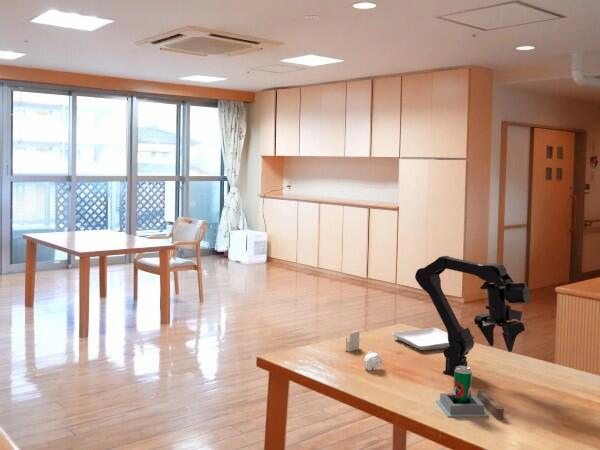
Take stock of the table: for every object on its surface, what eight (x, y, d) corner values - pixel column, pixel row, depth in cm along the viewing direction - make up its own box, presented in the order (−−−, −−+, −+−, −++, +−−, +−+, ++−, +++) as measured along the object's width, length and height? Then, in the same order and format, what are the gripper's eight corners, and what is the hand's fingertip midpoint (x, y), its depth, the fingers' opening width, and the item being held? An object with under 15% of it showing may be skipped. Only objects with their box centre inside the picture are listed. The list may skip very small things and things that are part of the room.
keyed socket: (435, 401, 201) (436, 392, 200) (474, 401, 202) (474, 391, 201) (447, 417, 189) (448, 407, 188) (488, 416, 190) (489, 406, 189)
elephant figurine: (387, 371, 229) (387, 354, 228) (366, 373, 226) (366, 356, 225) (378, 365, 235) (378, 349, 234) (357, 367, 232) (358, 350, 232)
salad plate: (419, 354, 250) (420, 345, 250) (390, 339, 270) (390, 331, 269) (465, 348, 259) (466, 340, 258) (434, 335, 278) (434, 327, 278)
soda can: (470, 411, 192) (472, 371, 191) (452, 409, 193) (454, 369, 192) (470, 405, 197) (472, 366, 196) (452, 403, 198) (454, 364, 197)
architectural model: (342, 350, 253) (343, 331, 253) (354, 347, 258) (354, 328, 258) (349, 352, 251) (350, 333, 250) (360, 349, 256) (361, 330, 255)
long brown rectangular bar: (476, 398, 204) (477, 389, 203) (483, 398, 204) (483, 389, 204) (496, 419, 188) (496, 408, 188) (503, 419, 188) (503, 408, 188)
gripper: (536, 302, 211) (540, 349, 212) (498, 294, 228) (502, 338, 229) (508, 308, 207) (512, 357, 208) (471, 299, 224) (475, 344, 225)
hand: (500, 348), depth 218 cm, fingers open, 9 cm apart
